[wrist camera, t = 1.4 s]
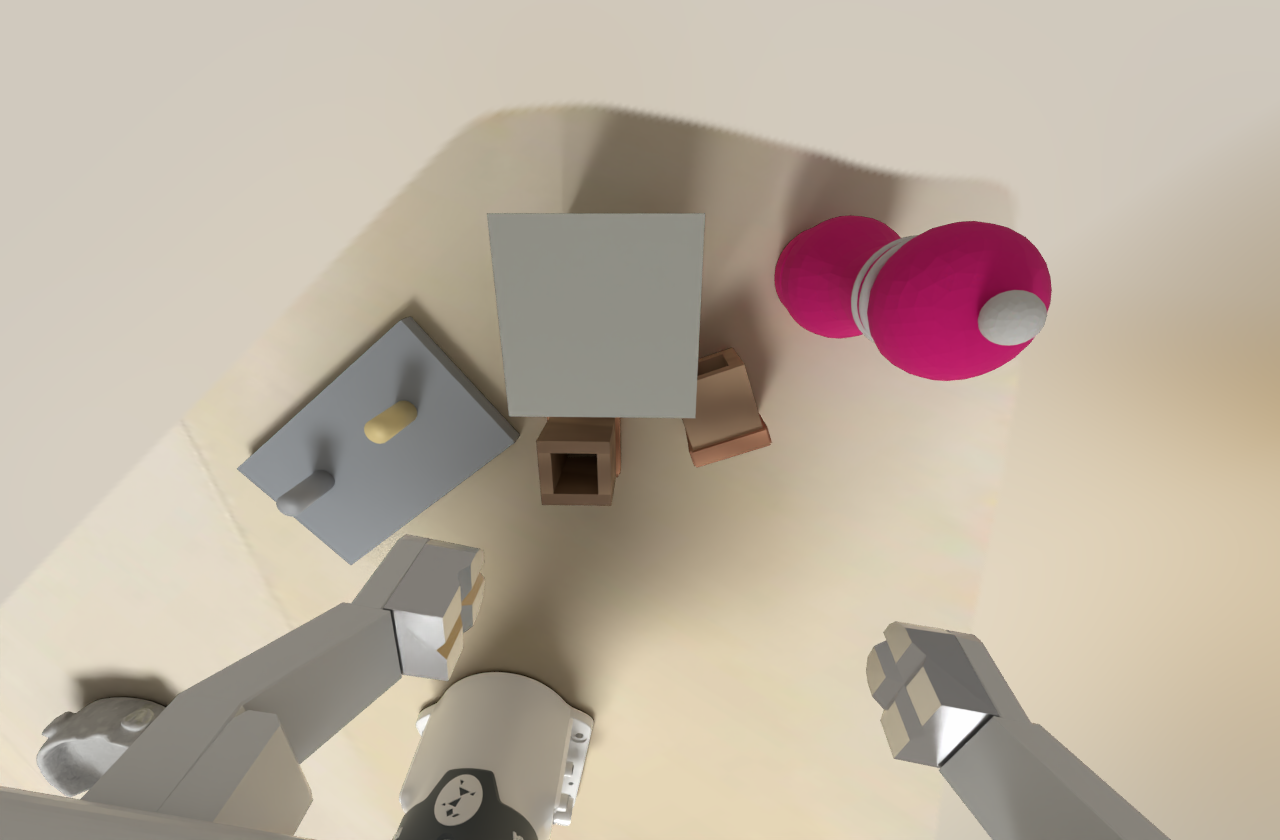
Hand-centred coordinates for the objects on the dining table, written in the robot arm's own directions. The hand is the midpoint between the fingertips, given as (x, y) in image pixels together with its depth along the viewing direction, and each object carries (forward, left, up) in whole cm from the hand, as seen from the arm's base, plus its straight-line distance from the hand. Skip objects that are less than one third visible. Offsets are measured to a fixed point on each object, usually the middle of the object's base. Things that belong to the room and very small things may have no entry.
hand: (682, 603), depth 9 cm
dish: (-46, +57, -28) cm, 78 cm away
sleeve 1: (-9, +6, -28) cm, 29 cm away
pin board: (-10, +23, -28) cm, 37 cm away
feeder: (+2, +3, -28) cm, 28 cm away
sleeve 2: (-5, -4, -28) cm, 28 cm away
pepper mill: (+4, -11, -28) cm, 30 cm away
